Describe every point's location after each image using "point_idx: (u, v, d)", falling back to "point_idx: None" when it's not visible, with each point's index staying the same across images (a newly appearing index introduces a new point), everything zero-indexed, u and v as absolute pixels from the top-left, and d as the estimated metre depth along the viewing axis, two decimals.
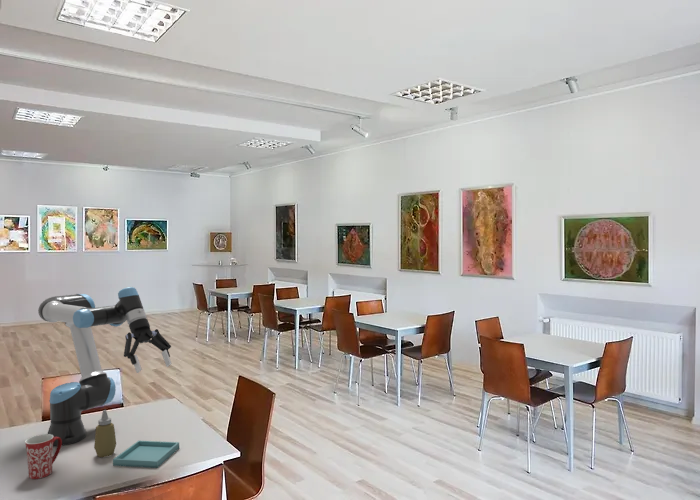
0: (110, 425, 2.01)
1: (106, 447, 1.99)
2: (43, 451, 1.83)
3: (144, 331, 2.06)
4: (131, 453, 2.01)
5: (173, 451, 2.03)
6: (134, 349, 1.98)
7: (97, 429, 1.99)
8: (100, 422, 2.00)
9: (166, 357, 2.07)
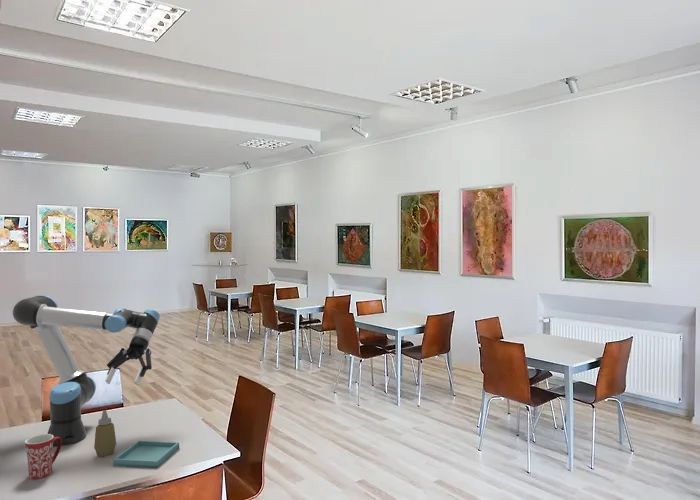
0: (110, 425, 2.01)
1: (106, 447, 1.99)
2: (43, 451, 1.83)
3: None
4: (131, 453, 2.01)
5: (173, 451, 2.03)
6: None
7: (97, 429, 1.99)
8: (100, 422, 2.00)
9: (112, 376, 2.17)
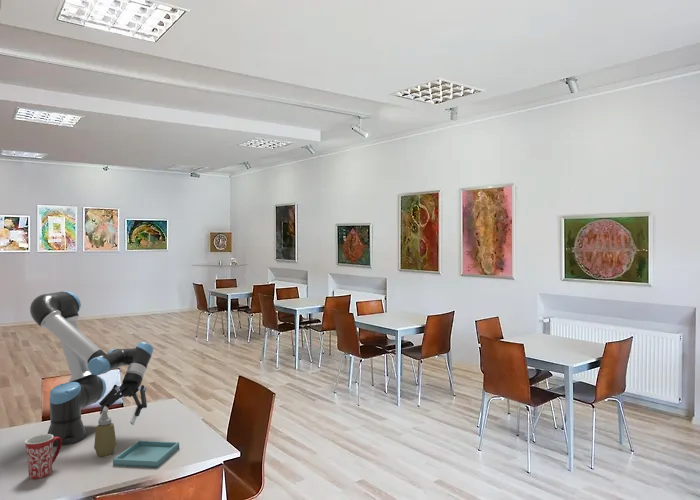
0: (110, 425, 2.01)
1: (106, 447, 1.99)
2: (43, 451, 1.83)
3: None
4: (131, 453, 2.01)
5: (173, 451, 2.03)
6: None
7: (97, 429, 1.99)
8: (100, 422, 2.00)
9: None
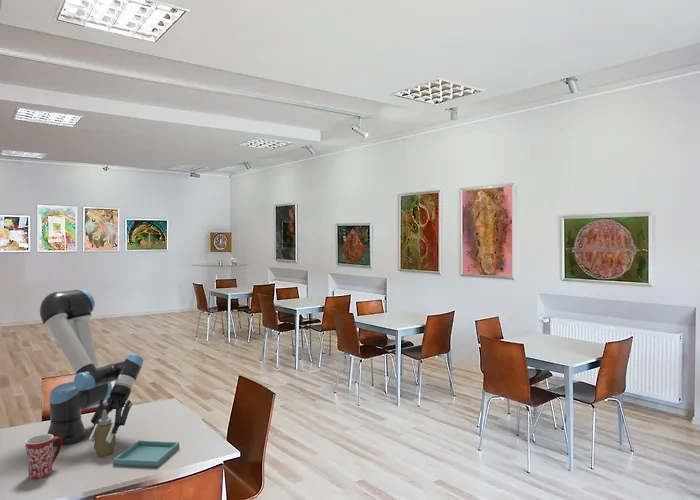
0: (110, 425, 2.01)
1: (106, 447, 1.99)
2: (43, 451, 1.83)
3: None
4: (131, 453, 2.01)
5: (173, 451, 2.03)
6: None
7: (97, 429, 1.99)
8: (100, 422, 2.00)
9: None
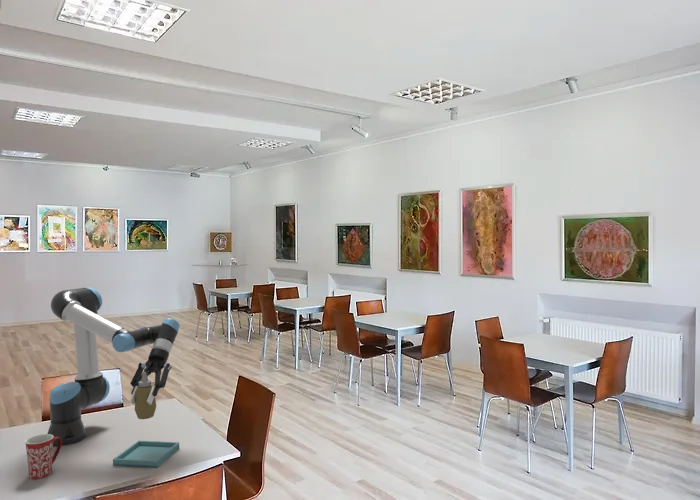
0: (150, 387, 1.99)
1: (147, 409, 1.96)
2: (43, 451, 1.83)
3: None
4: (131, 453, 2.01)
5: (173, 451, 2.03)
6: None
7: (137, 391, 1.97)
8: (140, 384, 1.97)
9: None
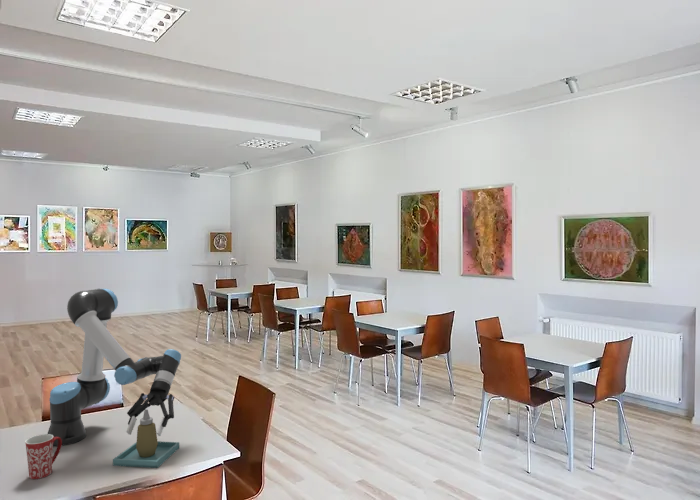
0: (152, 425, 1.99)
1: (149, 447, 1.97)
2: (43, 451, 1.83)
3: None
4: (131, 453, 2.01)
5: (173, 451, 2.03)
6: None
7: (139, 429, 1.97)
8: (142, 422, 1.98)
9: (133, 425, 2.01)
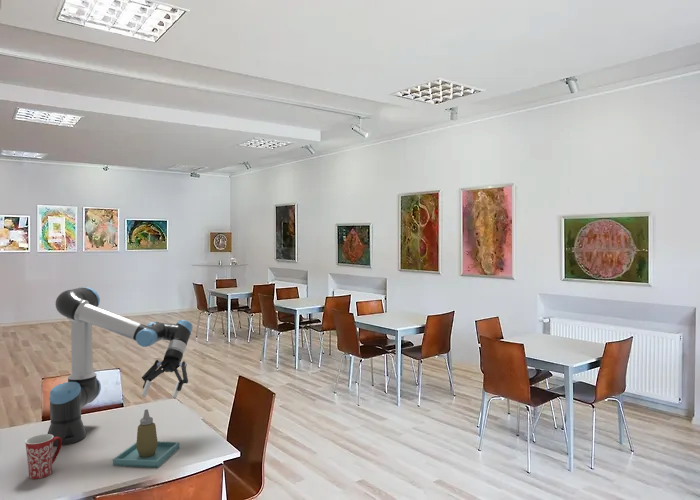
0: (152, 425, 1.99)
1: (149, 447, 1.97)
2: (43, 451, 1.83)
3: None
4: (131, 453, 2.01)
5: (173, 451, 2.03)
6: None
7: (139, 429, 1.97)
8: (142, 422, 1.98)
9: (147, 389, 2.14)
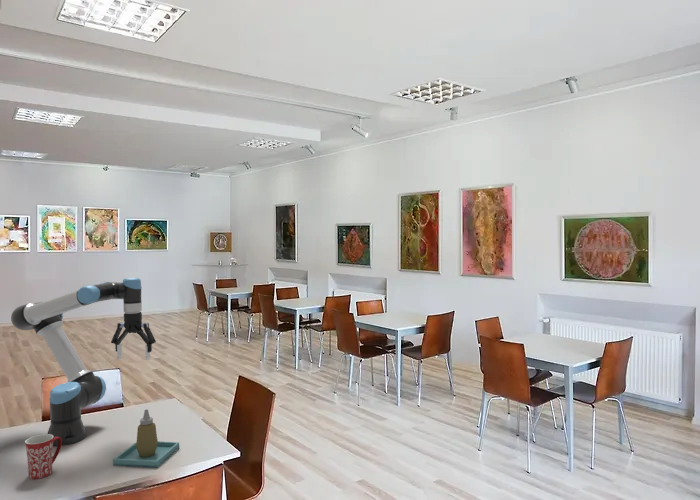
0: (152, 425, 1.99)
1: (149, 447, 1.97)
2: (43, 451, 1.83)
3: None
4: (131, 453, 2.01)
5: (173, 451, 2.03)
6: None
7: (139, 429, 1.97)
8: (142, 422, 1.98)
9: (121, 351, 2.28)
